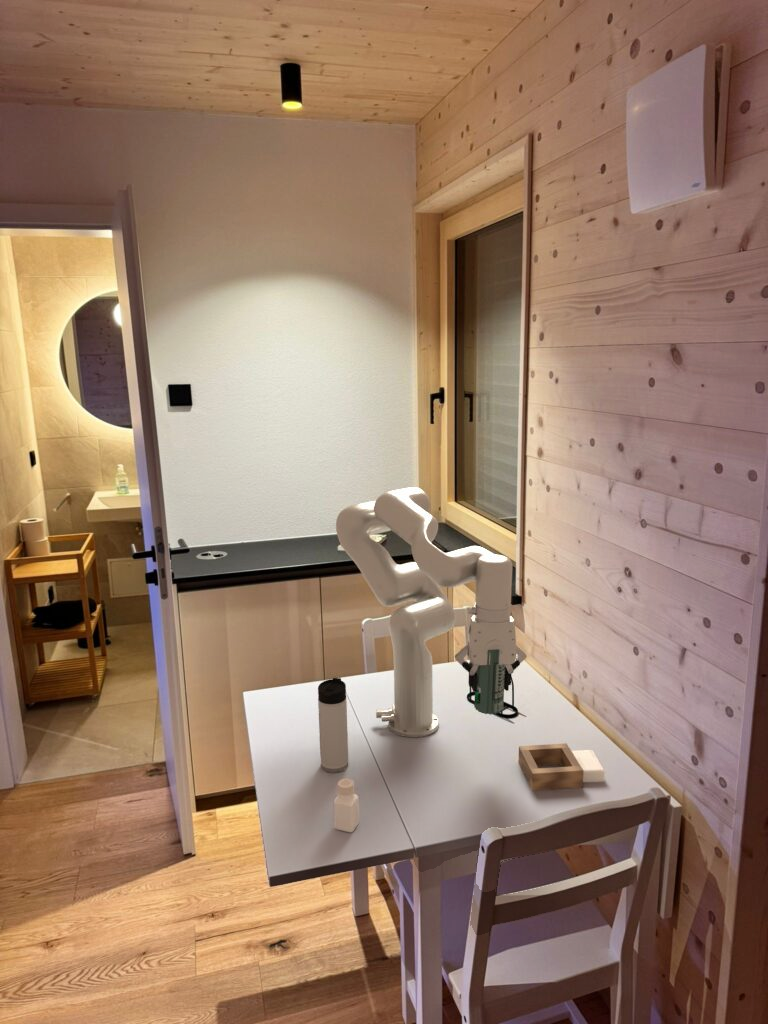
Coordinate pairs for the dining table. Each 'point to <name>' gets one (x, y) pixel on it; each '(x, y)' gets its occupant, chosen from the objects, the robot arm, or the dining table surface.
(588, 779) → the soap
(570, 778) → the socket
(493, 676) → the can
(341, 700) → the travel mug
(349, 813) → the pepper shaker
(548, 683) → the dining table surface
